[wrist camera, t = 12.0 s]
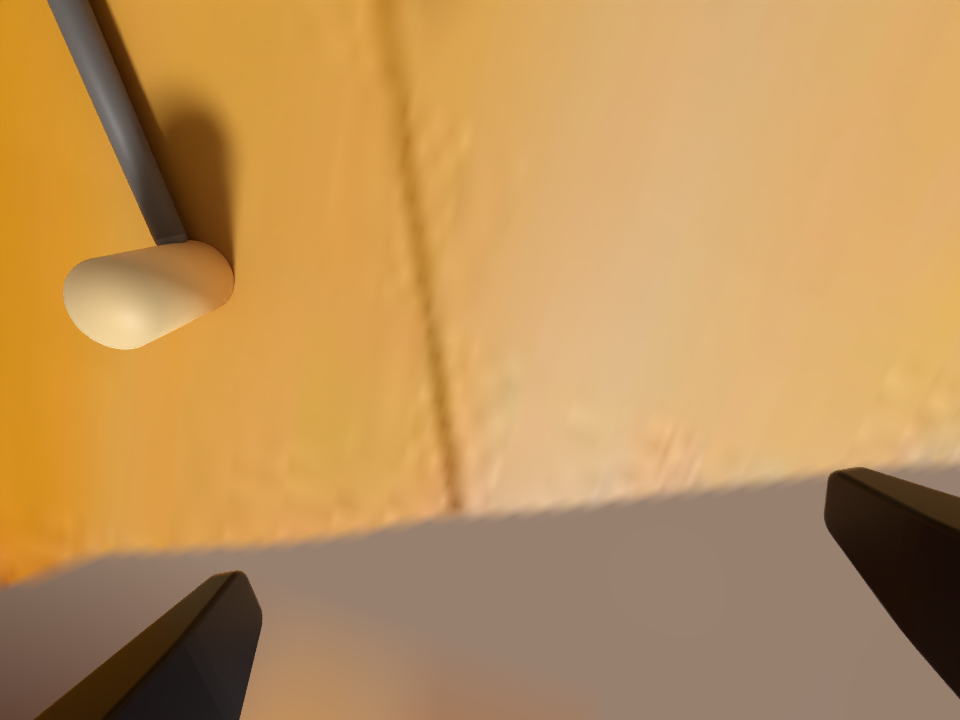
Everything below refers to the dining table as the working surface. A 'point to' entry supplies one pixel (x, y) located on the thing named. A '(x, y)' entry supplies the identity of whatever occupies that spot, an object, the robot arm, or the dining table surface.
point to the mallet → (175, 260)
